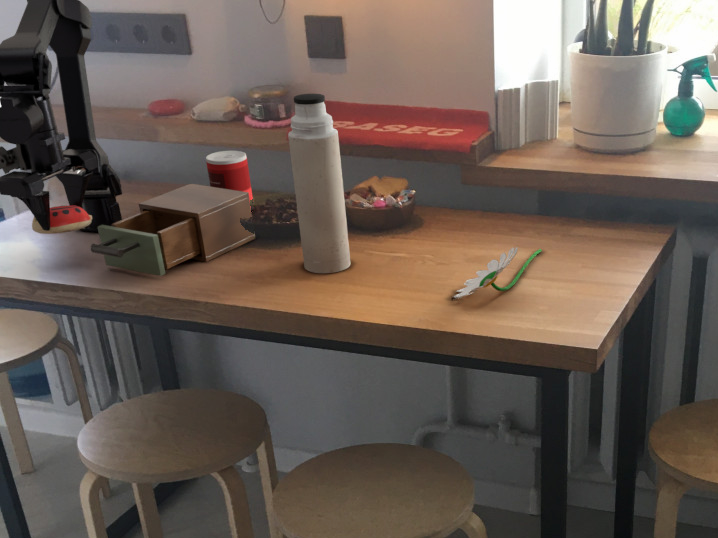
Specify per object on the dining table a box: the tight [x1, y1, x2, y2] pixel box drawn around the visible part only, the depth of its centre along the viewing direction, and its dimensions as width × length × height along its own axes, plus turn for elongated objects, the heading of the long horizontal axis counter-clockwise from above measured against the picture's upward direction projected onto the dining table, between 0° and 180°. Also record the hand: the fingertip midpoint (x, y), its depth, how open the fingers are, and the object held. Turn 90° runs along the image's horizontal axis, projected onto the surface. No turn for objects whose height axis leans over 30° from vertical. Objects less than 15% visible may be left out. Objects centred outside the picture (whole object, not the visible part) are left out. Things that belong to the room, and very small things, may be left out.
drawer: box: [90, 210, 202, 277], centre depth 173 cm, size 18×12×7 cm
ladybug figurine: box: [31, 205, 93, 235], centre depth 173 cm, size 7×10×4 cm
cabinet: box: [138, 183, 256, 263], centre depth 183 cm, size 14×14×9 cm
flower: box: [452, 246, 543, 301], centre depth 167 cm, size 13×6×30 cm
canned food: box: [205, 150, 254, 200], centre depth 199 cm, size 8×8×11 cm
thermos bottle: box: [288, 93, 351, 274], centre depth 168 cm, size 8×8×28 cm
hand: (62, 222), depth 174 cm, fingers closed on ladybug figurine, 8 cm apart
